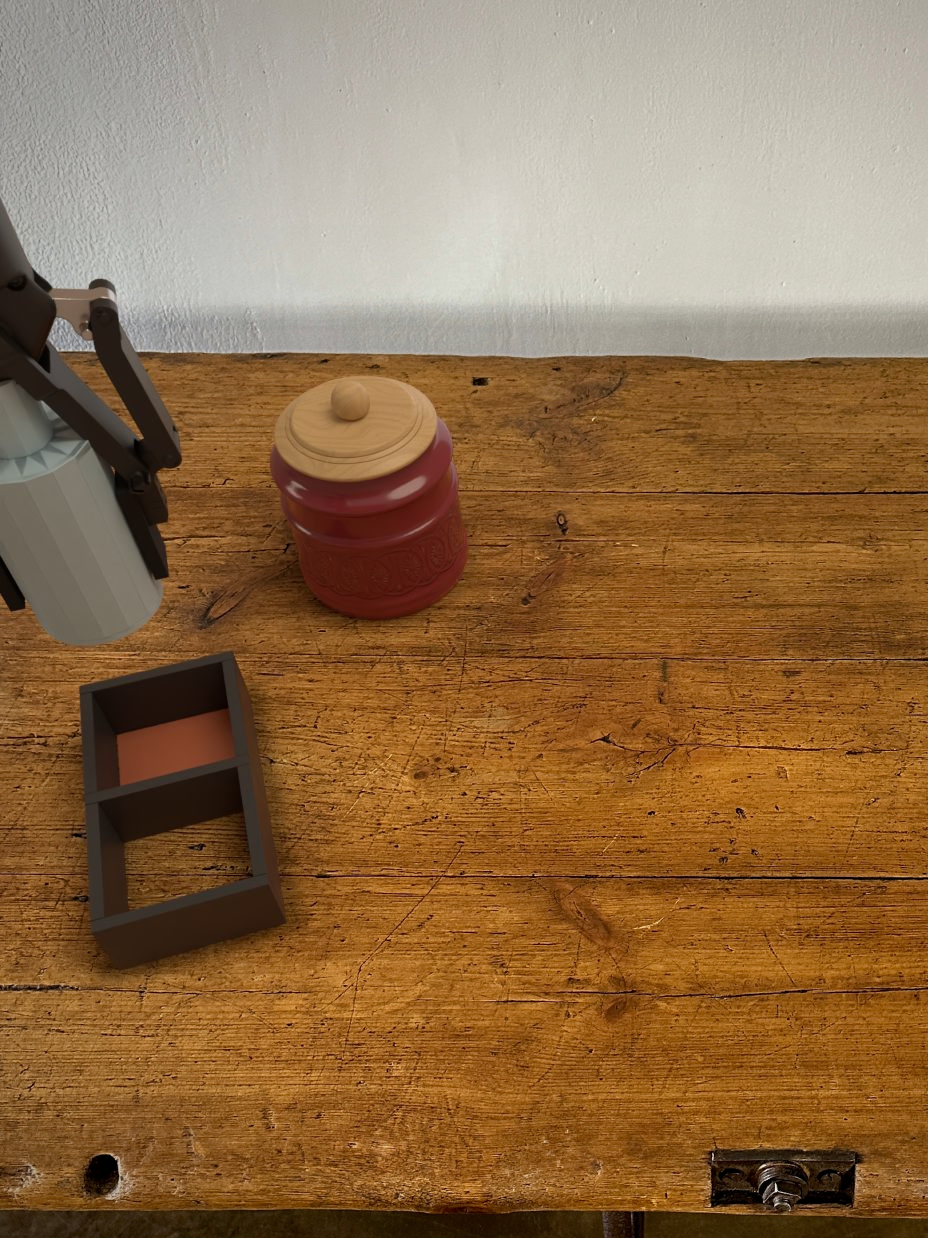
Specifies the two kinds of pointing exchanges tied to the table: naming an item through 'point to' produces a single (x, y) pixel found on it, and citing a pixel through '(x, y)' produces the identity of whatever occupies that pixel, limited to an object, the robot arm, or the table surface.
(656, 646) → the table surface
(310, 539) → the kitchen canister
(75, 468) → the water bottle
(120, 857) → the frame
